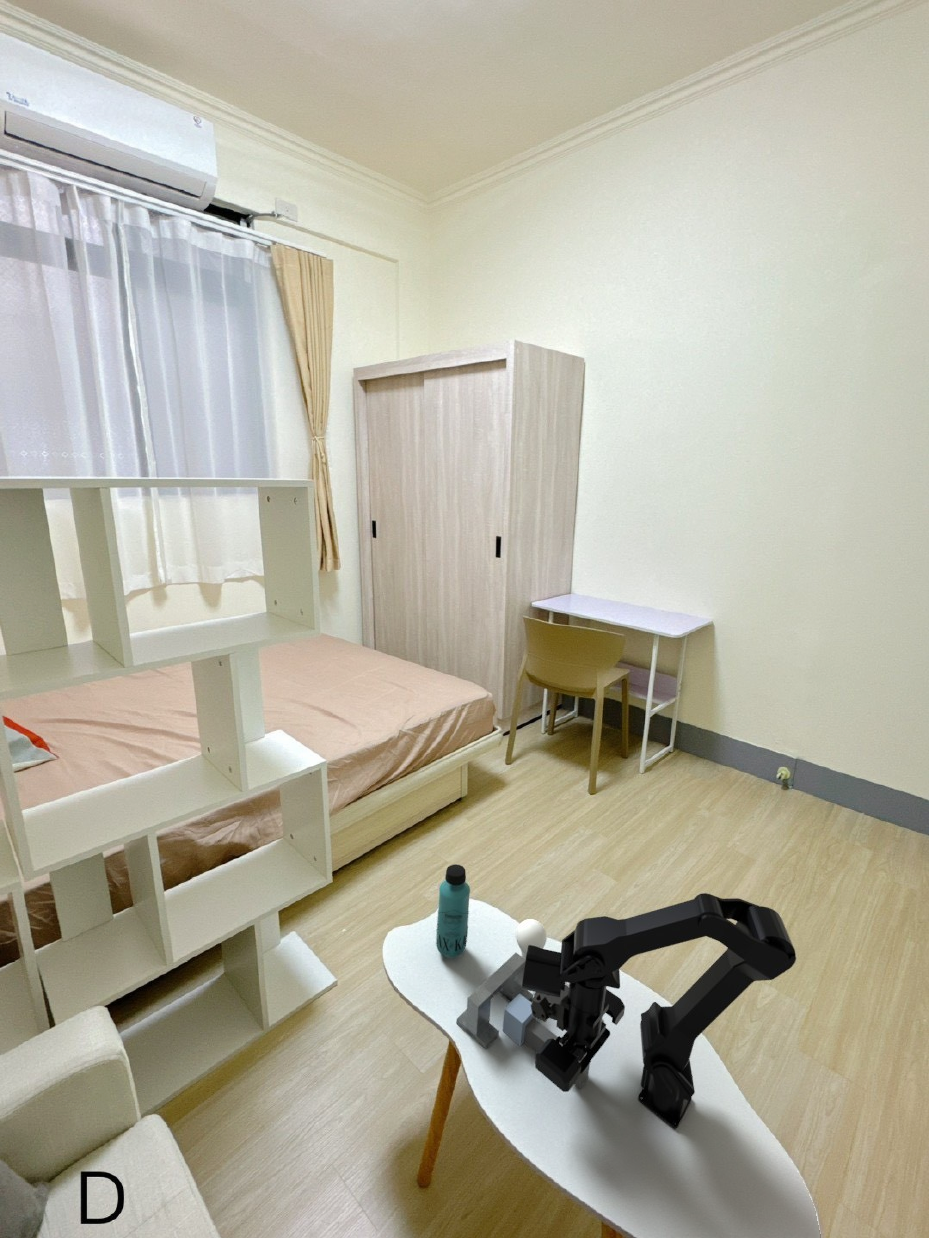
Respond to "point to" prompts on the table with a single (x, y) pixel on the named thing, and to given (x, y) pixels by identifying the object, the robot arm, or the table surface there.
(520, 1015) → the plug
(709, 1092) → the table surface
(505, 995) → the gray arch-shaped bracket
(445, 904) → the beverage bottle
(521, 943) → the lightbulb
